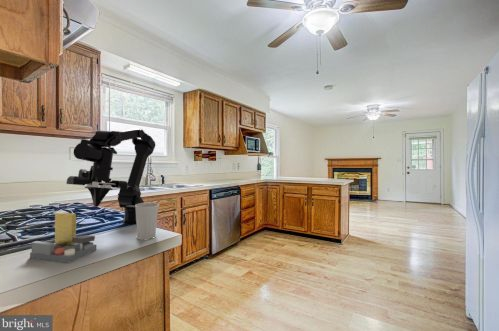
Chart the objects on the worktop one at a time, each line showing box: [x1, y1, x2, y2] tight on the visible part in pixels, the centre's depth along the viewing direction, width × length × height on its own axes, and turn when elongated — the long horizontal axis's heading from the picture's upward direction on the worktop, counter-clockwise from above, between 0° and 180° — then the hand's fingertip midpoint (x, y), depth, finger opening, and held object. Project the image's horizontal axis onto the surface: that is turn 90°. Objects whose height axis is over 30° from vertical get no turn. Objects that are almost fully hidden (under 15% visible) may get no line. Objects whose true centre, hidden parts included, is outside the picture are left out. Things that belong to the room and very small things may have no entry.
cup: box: [135, 202, 160, 241], centre depth 90 cm, size 8×8×12 cm
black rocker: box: [72, 234, 96, 243], centre depth 75 cm, size 5×3×1 cm, turn 171°
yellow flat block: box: [54, 211, 77, 245], centre depth 76 cm, size 2×6×10 cm, turn 81°
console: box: [29, 240, 97, 264], centre depth 73 cm, size 10×12×5 cm
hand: (95, 206), depth 88 cm, fingers closed
